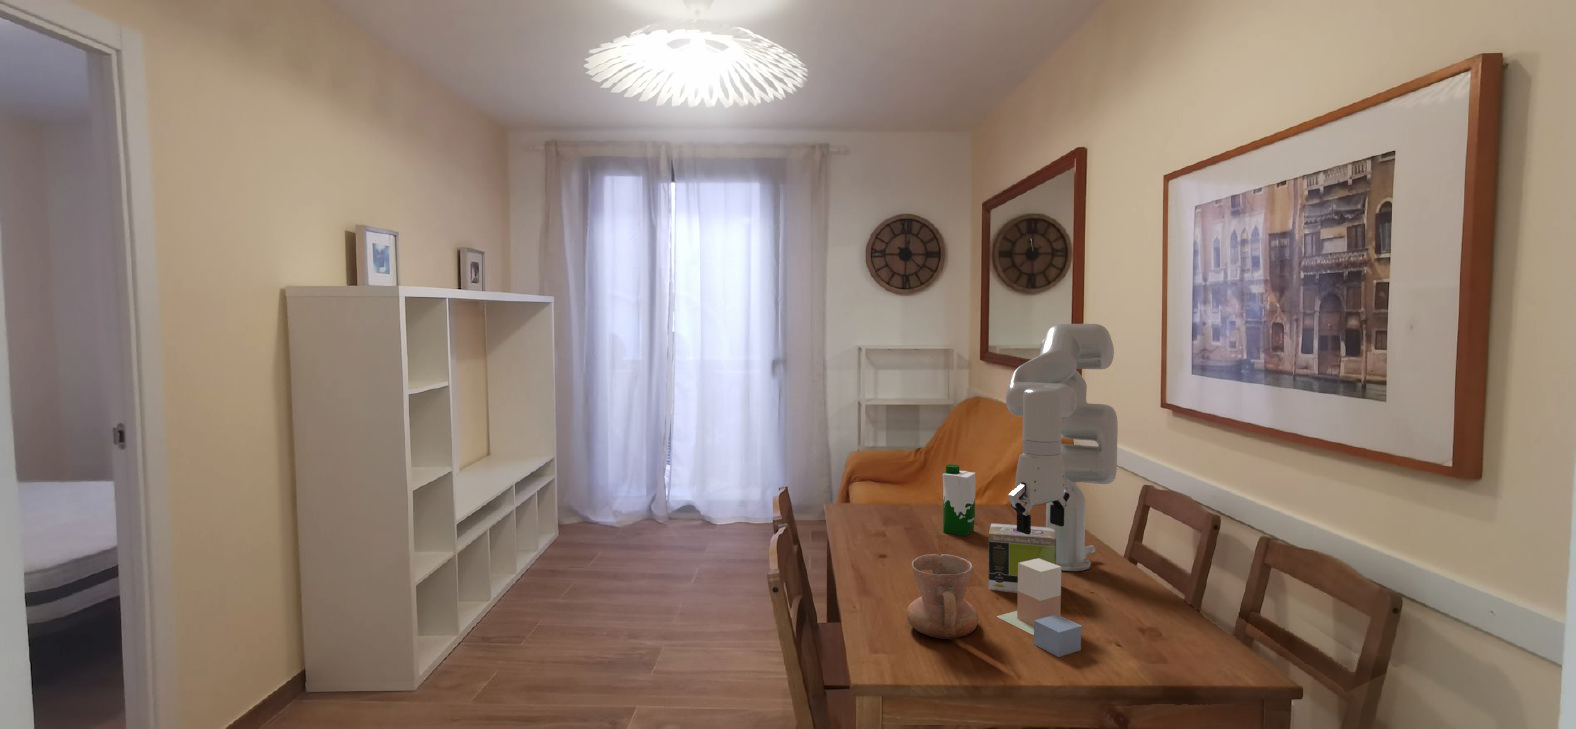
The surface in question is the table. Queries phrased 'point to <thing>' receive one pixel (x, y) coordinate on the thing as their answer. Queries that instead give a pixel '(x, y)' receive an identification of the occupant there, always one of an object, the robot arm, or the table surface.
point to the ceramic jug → (942, 597)
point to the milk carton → (958, 501)
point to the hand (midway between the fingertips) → (1040, 528)
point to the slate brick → (1057, 635)
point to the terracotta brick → (1036, 608)
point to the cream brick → (1039, 579)
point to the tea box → (1016, 553)
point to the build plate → (1018, 622)
